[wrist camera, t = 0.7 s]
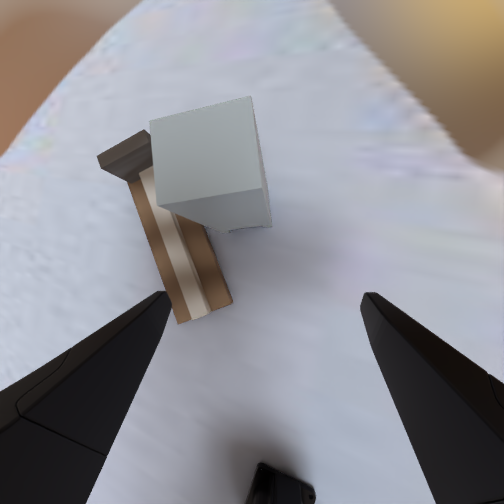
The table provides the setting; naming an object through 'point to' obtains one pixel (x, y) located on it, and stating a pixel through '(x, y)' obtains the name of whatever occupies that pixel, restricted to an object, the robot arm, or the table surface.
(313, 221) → the table surface
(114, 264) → the table surface
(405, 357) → the robot arm
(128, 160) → the rail board
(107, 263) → the table surface
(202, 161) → the block
